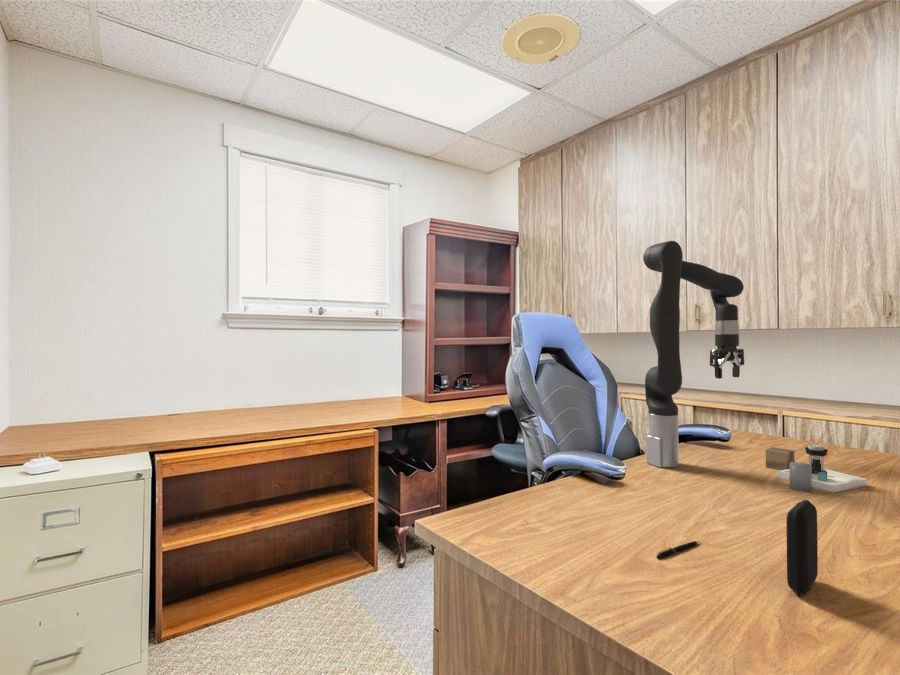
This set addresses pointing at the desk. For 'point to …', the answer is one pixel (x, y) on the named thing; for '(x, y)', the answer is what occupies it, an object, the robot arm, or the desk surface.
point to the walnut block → (779, 458)
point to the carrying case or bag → (802, 547)
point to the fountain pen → (675, 549)
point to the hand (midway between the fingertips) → (727, 377)
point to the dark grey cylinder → (800, 476)
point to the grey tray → (839, 483)
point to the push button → (817, 461)
